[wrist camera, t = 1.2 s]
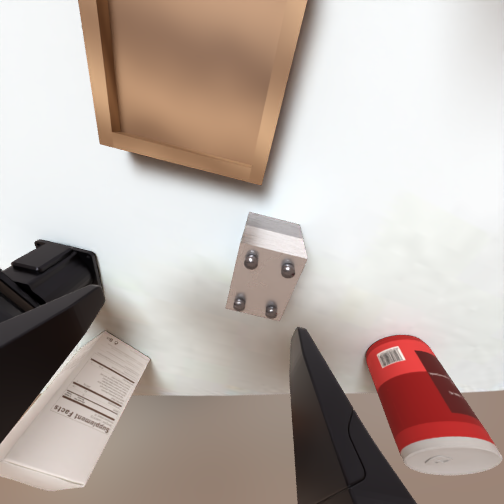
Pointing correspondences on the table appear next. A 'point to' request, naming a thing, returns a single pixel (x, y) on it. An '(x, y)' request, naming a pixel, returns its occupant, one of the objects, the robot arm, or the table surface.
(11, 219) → the table surface
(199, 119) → the wooden tray
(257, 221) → the housing
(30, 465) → the supplement box
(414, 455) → the canned food
